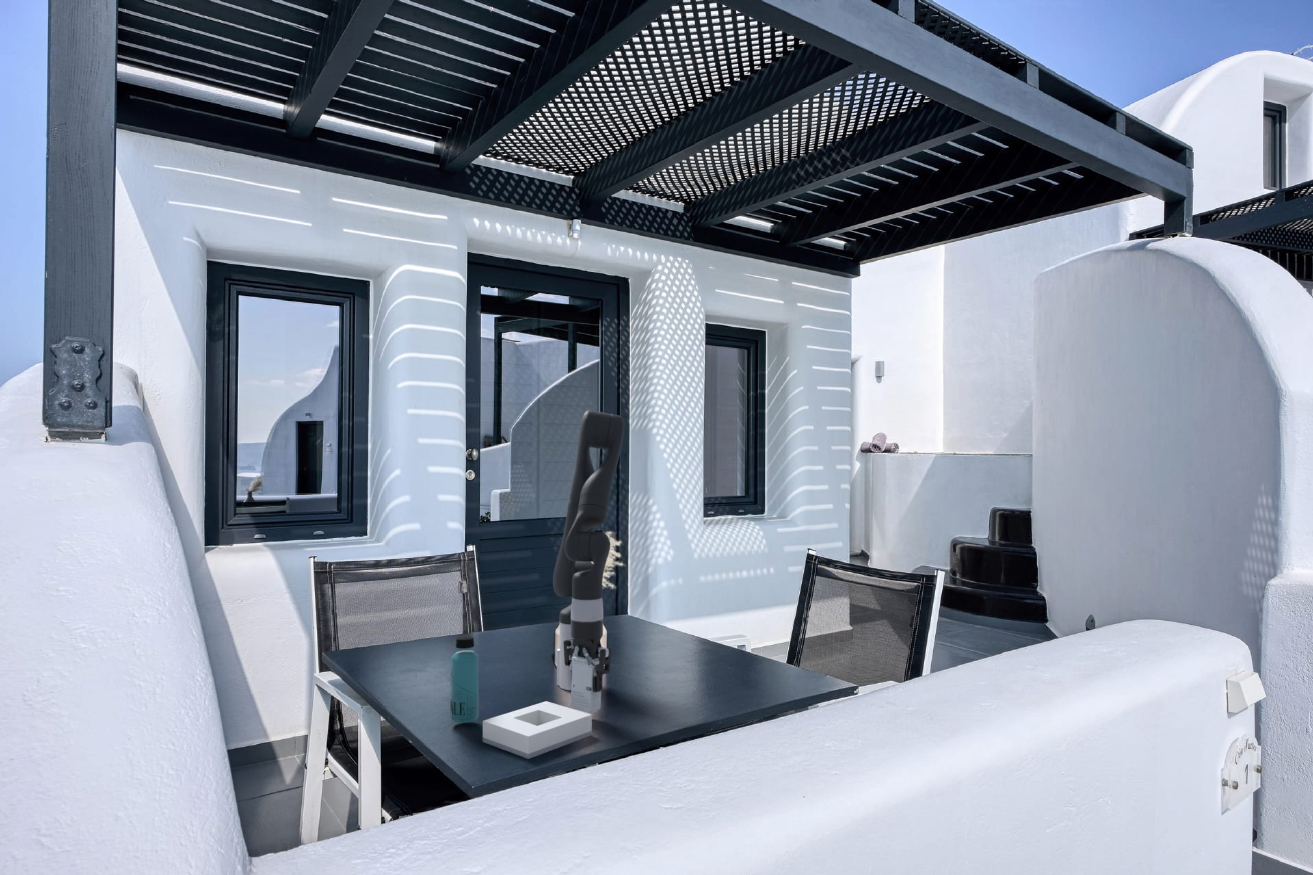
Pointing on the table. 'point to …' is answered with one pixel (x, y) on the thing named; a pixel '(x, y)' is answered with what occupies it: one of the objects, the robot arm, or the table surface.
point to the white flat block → (537, 729)
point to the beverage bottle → (464, 682)
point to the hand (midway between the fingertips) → (586, 688)
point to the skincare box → (584, 686)
